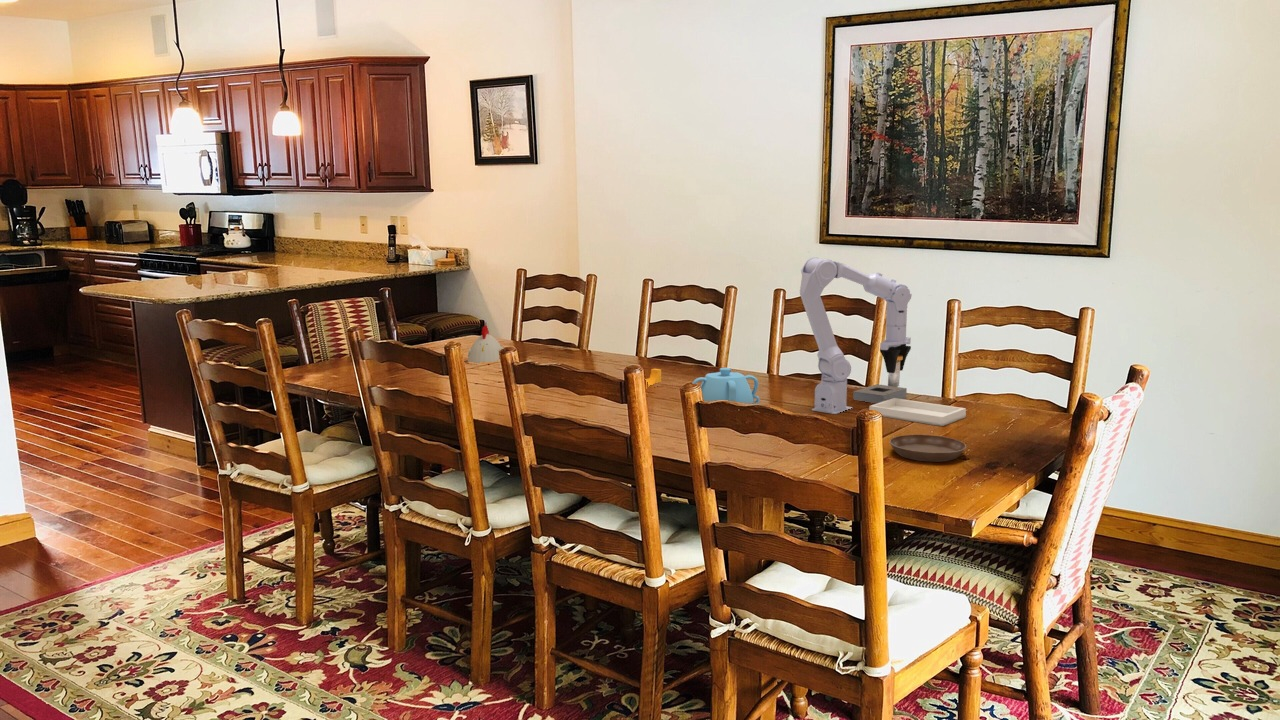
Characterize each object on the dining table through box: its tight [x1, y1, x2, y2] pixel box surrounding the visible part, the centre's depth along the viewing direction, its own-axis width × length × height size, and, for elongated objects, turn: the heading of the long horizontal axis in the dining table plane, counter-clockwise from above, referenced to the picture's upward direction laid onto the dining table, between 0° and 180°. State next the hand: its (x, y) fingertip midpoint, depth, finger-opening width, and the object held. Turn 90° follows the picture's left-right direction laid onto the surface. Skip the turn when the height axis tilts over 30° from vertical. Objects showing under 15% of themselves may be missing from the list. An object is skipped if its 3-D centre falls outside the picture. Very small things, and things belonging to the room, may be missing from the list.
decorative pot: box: [691, 367, 761, 404], centre depth 282 cm, size 16×16×14 cm
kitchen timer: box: [467, 325, 504, 363], centre depth 367 cm, size 14×14×15 cm
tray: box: [868, 398, 967, 427], centre depth 279 cm, size 14×22×2 cm, turn 47°
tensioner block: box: [852, 384, 908, 404], centre depth 301 cm, size 14×10×3 cm
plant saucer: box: [889, 434, 967, 463], centre depth 239 cm, size 18×18×3 cm
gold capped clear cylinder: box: [887, 354, 903, 387], centre depth 291 cm, size 4×4×9 cm
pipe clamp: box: [644, 368, 662, 389], centre depth 318 cm, size 12×4×6 cm, turn 146°
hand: (894, 371), depth 290 cm, fingers closed on gold capped clear cylinder, 4 cm apart
